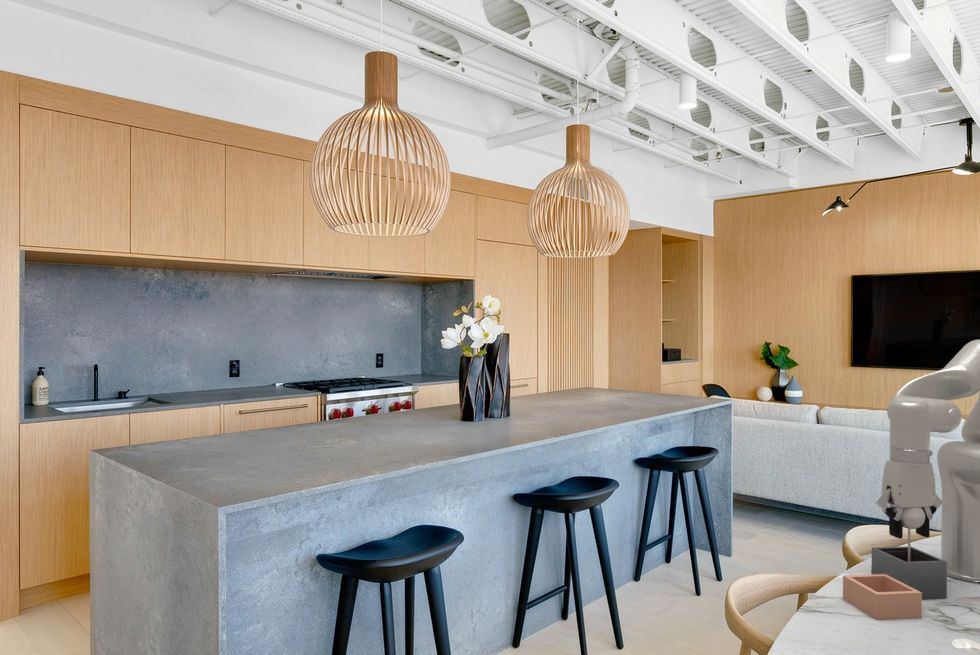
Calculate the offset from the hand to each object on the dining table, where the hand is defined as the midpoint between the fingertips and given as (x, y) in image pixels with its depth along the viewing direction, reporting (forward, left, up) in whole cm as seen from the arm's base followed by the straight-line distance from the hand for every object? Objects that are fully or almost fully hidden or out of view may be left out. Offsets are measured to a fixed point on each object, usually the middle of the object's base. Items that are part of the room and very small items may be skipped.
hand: (909, 535), depth 143 cm
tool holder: (+13, +8, -12) cm, 20 cm away
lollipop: (0, 0, -8) cm, 8 cm away
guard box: (0, 0, -12) cm, 12 cm away
